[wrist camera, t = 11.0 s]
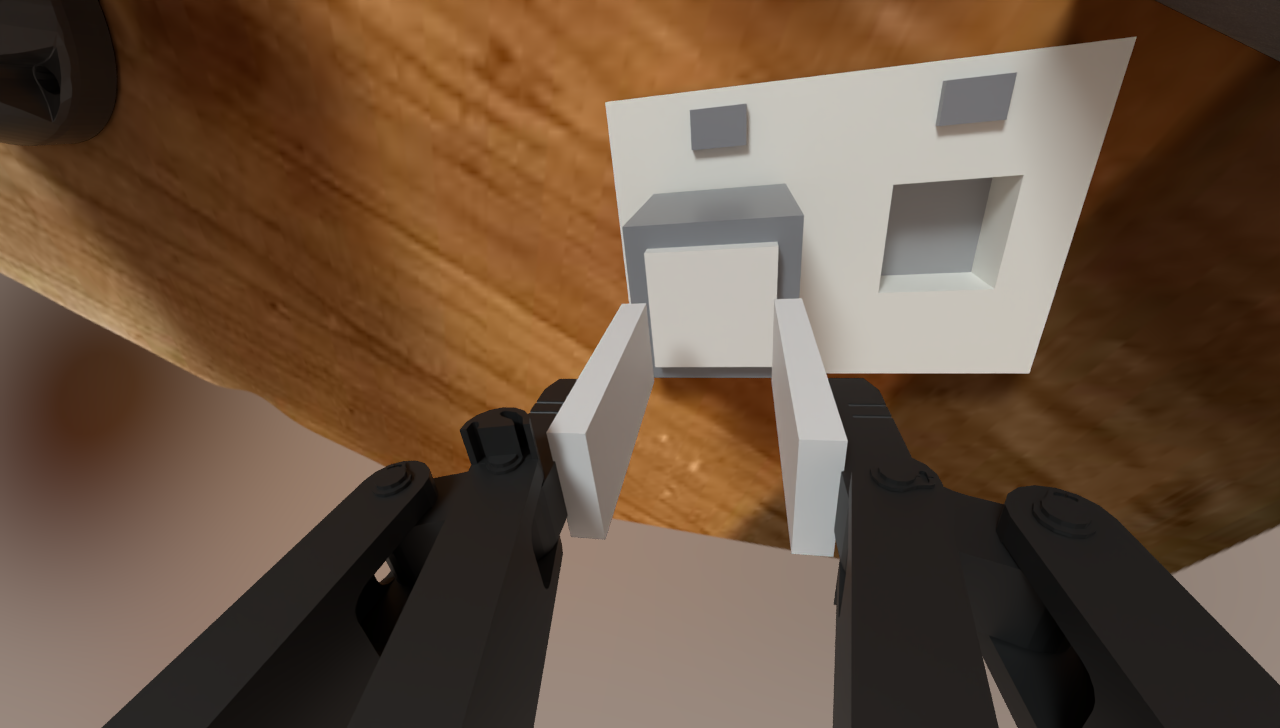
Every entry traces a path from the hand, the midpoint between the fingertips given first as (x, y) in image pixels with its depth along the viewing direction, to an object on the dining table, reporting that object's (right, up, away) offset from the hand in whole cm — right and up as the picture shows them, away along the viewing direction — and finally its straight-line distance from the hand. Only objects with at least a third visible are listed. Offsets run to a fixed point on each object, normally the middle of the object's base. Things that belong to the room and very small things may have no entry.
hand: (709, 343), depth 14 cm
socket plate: (+7, +6, +11) cm, 15 cm away
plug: (+2, +6, +11) cm, 13 cm away
